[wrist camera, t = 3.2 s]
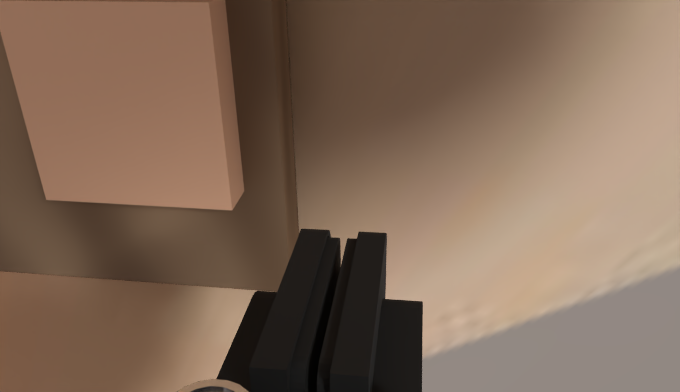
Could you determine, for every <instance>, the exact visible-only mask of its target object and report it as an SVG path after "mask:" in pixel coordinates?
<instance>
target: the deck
mask: <svg viewBox="0 0 680 392" xmlns="http://www.w3.org/2000/svg"><path fill="white" fill-rule="evenodd" d="M225 3H226V13H227V23H228V33H229V43H230V53H231V63H232V73H233V83H234V93H235V103H236V113H237V123H238V133H239V143H240V152H241V162H242V172H243V182H244V192H243V194H242V196H241V197H240V199H239V200H238V202H237V204H236V205H235V207H234V208H233V210H216V209H198V208H181V207H163V206H145V205H128V204H110V203H92V202H75V201H57V200H46V197H45V194H44V190H43V186H42V183H41V179H40V175H39V172H38V168H37V164H36V161H35V157H34V153H33V150H32V146H31V142H30V139H29V135H28V131H27V128H26V124H25V120H24V117H23V113H22V109H21V106H20V102H19V98H18V95H17V91H16V87H15V84H14V80H13V76H12V72H11V69H10V65H9V61H8V58H7V54H6V50H5V47H4V43H3V39H2V36H1V32H0V271H5V272H19V273H32V274H46V275H59V276H73V277H86V278H99V279H113V280H126V281H140V282H153V283H167V284H180V285H194V286H207V287H220V288H234V289H247V290H261V291H274V292H277V291H278V289H279V286H280V283H281V281H282V278H283V275H284V273H285V270H286V268H287V265H288V262H289V260H290V257H291V254H292V252H293V249H294V246H295V244H296V241H297V238H298V236H299V227H298V209H297V191H296V173H295V155H294V138H293V120H292V102H291V84H290V66H289V48H288V30H287V12H286V0H225Z"/></svg>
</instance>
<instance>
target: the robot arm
mask: <svg viewBox="0 0 680 392" xmlns="http://www.w3.org/2000/svg"><path fill="white" fill-rule="evenodd" d="M386 247H387V234H386V233H373V232H359V233H358V237H357V239H349V238H348V239H347V243H346V247H345V251H344V256H343V260H342V264H341V258H340V238H331V236H330V231H329V230H316V229H301V231H300V233H299V236H298V238H297V241H296V244H295V246H294V249H293V252H292V254H291V257H290V260H289V262H288V265H287V268H286V270H285V273H284V275H283V278H282V281H281V283H280V286H279V289H278V291H277V292H267V291H257V292H255V293H254V295H253V297H252V299H251V301H250V303H249V306H248V308H247V310H246V312H245V315H244V317H243V319H242V322H241V324H240V326H239V329H238V331H237V333H236V335H235V338H234V340H233V342H232V345H231V347H230V349H229V351H228V354H227V356H226V358H225V361H224V363H223V365H222V367H221V370H220V372H219V374H218V377H217V379H211V380H204V381H198V382H196V383H193V384H190V385H187V386H185V387H183V388H182V389H180V390H179V391H177V392H422V315H423V303H422V302H421V301H406V300H390V299H385V288H386Z"/></svg>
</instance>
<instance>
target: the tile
mask: <svg viewBox="0 0 680 392" xmlns="http://www.w3.org/2000/svg"><path fill="white" fill-rule="evenodd" d="M0 32H1V36H2V39H3V43H4V47H5V50H6V54H7V58H8V61H9V65H10V69H11V72H12V76H13V80H14V84H15V87H16V91H17V95H18V98H19V102H20V106H21V109H22V113H23V117H24V120H25V124H26V128H27V131H28V135H29V139H30V142H31V146H32V150H33V153H34V157H35V161H36V164H37V168H38V172H39V175H40V179H41V183H42V186H43V190H44V194H45V197H46V200H57V201H75V202H92V203H110V204H128V205H145V206H163V207H181V208H198V209H216V210H233V208H234V207H235V205H236V204H237V202H238V200H239V199H240V197H241V196H242V194H243V192H244V182H243V172H242V162H241V152H240V143H239V133H238V123H237V113H236V103H235V93H234V83H233V73H232V63H231V53H230V43H229V33H228V23H227V13H226V3H225V0H0Z"/></svg>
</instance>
